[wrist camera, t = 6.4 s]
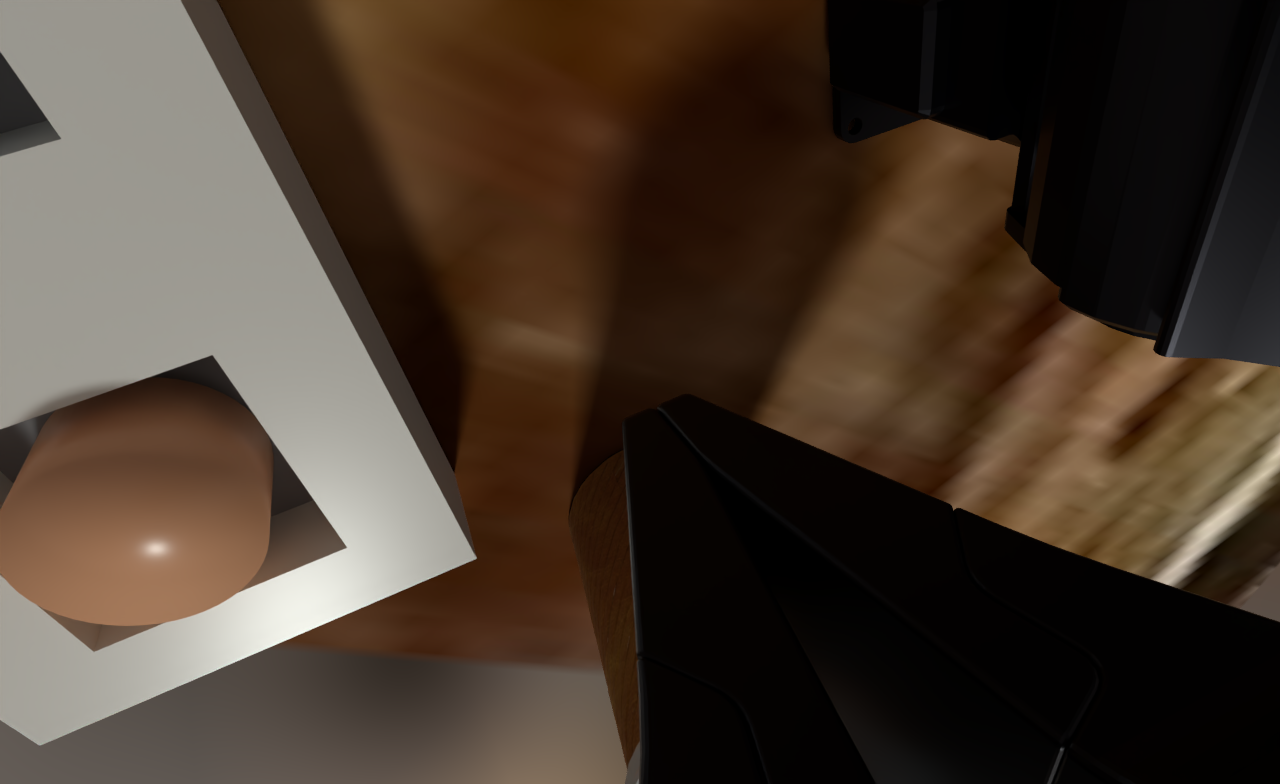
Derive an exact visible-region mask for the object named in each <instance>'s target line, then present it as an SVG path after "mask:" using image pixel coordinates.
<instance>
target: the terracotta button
mask: <svg viewBox="0 0 1280 784" xmlns="http://www.w3.org/2000/svg"><path fill="white" fill-rule="evenodd" d="M273 467H274V454H273V449H272V444H271V442H270V439H269V437H268V434H267V433H266V431H265V429H264V428H263V426H262V425H261V424H260V422H259V421H258V420H257V418H256V417H255V416H254V415H253V414H252V413H251V412H250V411H249V410H248V409H246V408H245V407H244V406H243V405H241V404H240V403H238V402H237V401H236V400H234V399H232V398H230V397H229V396H227V395H225V394H223V393H221V392H219V391H216V390H214V389H212V388H209V387H206V386H203V385H200V384H197V383H193V382H188V381H184V380H179V379H170V378H159V377H148V378H145V379H143V380H140V381H137V382H134V383H131V384H128V385H125V386H123V387H120V388H117V389H114V390H111V391H108V392H106V393H103V394H100V395H97V396H94V397H91V398H88V399H86V400H83V401H80V402H77V403H74V404H71V405H68V406H66V407H63V408H60V409H57V410H55V412H54V413H53V414H52V415H51V416H50V417H49V418H48V419H47V421H46V422H45V424H44V425H43V427H42V429H41V431H40V433H39V434H38V436H37V438H36V440H35V442H34V444H33V446H32V448H31V450H30V452H29V454H28V456H27V458H26V460H25V462H24V464H23V466H22V468H21V470H20V472H19V474H18V476H17V478H16V480H15V482H14V484H13V486H12V488H11V490H10V492H9V494H8V496H7V498H6V500H5V502H4V504H3V505H2V507H1V509H0V573H1V574H2V576H3V577H4V578H5V579H6V581H7V582H8V583H9V584H10V585H11V586H12V587H13V588H14V589H15V590H16V591H17V592H18V593H19V594H21V595H22V596H24V597H25V598H26V599H28V600H29V601H31V602H33V603H34V604H36V605H38V606H40V607H42V608H44V609H46V610H48V611H51V612H53V613H56V614H58V615H61V616H64V617H68V618H71V619H74V620H79V621H84V622H88V623H95V624H103V625H115V626H139V625H151V624H160V623H165V622H170V621H175V620H179V619H183V618H187V617H190V616H193V615H196V614H199V613H201V612H204V611H206V610H209V609H211V608H213V607H215V606H217V605H219V604H221V603H223V602H224V601H226V600H228V599H229V598H231V597H232V596H234V595H235V594H236V593H238V592H239V591H240V590H242V589H243V588H244V587H245V586H246V585H247V584H248V583H249V582H250V581H251V580H252V578H253V577H254V576H255V575H256V574H257V572H258V571H259V569H260V567H261V566H262V564H263V562H264V559H265V557H266V554H267V551H268V545H269V535H270V518H271V501H272V484H273Z"/></svg>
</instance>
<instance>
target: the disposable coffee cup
mask: <svg viewBox="0 0 1280 784" xmlns="http://www.w3.org/2000/svg"><path fill="white" fill-rule="evenodd" d="M569 528H570V533H571V537H572V540H573V544H574V548H575V553H576V557H577V561H578V565H579V569H580V573H581V578H582V582H583V586H584V590H585V594H586V598H587V603H588V607H589V611H590V616H591V620H592V624H593V628H594V633H595V636H596V641H597V645H598V649H599V653H600V657H601V662H602V666H603V670H604V674H605V678H606V683H607V686H608V693H609V696H610V700H611V704H612V709H613V712H614V716H615V720H616V724H617V728H618V733H619V736H620V741H621V745H622V749H623V754H624V758H625V762H626V765H627V776H626V781H625V784H639V767H640V731H639V696H638V681H637V661H638V659H637V656H636V641H635V625H634V609H633V593H632V577H631V560H630V544H629V528H628V512H627V496H626V480H625V464H624V450H622V451H620V452H618V453H616V454H615V455H613V456H612V457H610V458H608V459H607V460H605V461H604V462H603V463H602V464H601V465H600V466H599V467H598V468H597V469H595V470H594V471H593V472H592V473H591V474H590V475H589V476H588V478H587V479H586V480H585V481H584V482H583V484H582V485H581V487H580V488H579V490H578V492H577V494H576V496H575V497H574V500H573V503H572V507H571V510H570V514H569Z"/></svg>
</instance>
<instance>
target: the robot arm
mask: <svg viewBox="0 0 1280 784" xmlns="http://www.w3.org/2000/svg"><path fill="white" fill-rule="evenodd" d="M828 14H829V56H830V83H831V85H833V125H834V133H835V135H836V136H837V138H839V139H841V140H843V141H846V142H848V143H856V142H858V141H861V140H864V139H867V138H870V137H872V136H875V135H878V134H881V133H884V132H887V131H889V130H892V129H895V128H898V127H901V126H904V125H906V124H909V123H912V122H915V121H918V120H920V119H929V120H932V121H935V122H938V123H941V124H944V125H947V126H950V127H953V128H956V129H959V130H962V131H964V132H967V133H970V134H973V135H976V136H979V137H982V138H985V139H988V140H1000V141H1003V142H1006V143H1009V144H1012V145H1015V146H1018V147H1020V152H1019V159H1018V166H1017V173H1016V180H1015V187H1014V194H1013V201H1012V206H1011V207H1009V208H1008V209H1007V213H1006V220H1005V227H1004V228H1005V230H1006V231H1007V233H1008V234H1009V235H1010V236H1011V237H1012V238H1013V239H1014V240H1015V241H1016V242H1017V243H1018V244H1019V245H1020V246H1021V247H1022V248H1023V249H1024V250H1025V251H1026V252H1027V254H1028V257H1029V259H1030V262H1031V264H1032V265H1034V266H1035V267H1036V268H1037V269H1038V270H1039V271H1040V272H1042V273H1043V274H1044V275H1045V276H1046V277H1047V278H1048V279H1050V280H1051V281H1052V282H1053V283H1054V284H1055V285H1057V286H1059V287H1060V289H1059V294H1058V298H1059V300H1060V301H1061V302H1062V303H1063V304H1065V305H1066V306H1067V307H1068V308H1070V309H1071V310H1074V311H1076V312H1078V313H1080V314H1083V315H1085V316H1087V317H1089V318H1092V319H1094V320H1096V321H1098V322H1100V323H1102V324H1104V325H1106V326H1108V327H1110V328H1112V329H1115V330H1118V331H1121V332H1124V333H1127V334H1130V335H1133V336H1137V337H1142V338H1147V339H1151V340H1156V342H1155V345H1154V349H1153V350H1154V351H1155V353H1157V354H1159V355H1161V356H1164V357H1183V358H1223V359H1230V360H1237V361H1244V362H1251V363H1258V364H1264V365H1271V366H1278V367H1280V0H828ZM853 119H854V120H855V122H854V126H853V127H852V129H851V130H849V131H848V126H849V123H850V122H851V120H853ZM622 432H623V448H624V464H625V480H626V496H627V512H628V528H629V544H630V560H631V577H632V593H633V609H634V625H635V641H636V656H637V659H638V661H637V681H638V696H639V731H640V767H639V784H1280V622H1278V621H1275V620H1272V619H1269V618H1266V617H1263V616H1260V615H1257V614H1254V613H1251V612H1248V611H1245V610H1242V609H1239V608H1236V607H1233V606H1230V605H1227V604H1224V603H1221V602H1218V601H1215V600H1212V599H1209V598H1206V597H1202V596H1199V595H1196V594H1193V593H1190V592H1187V591H1184V590H1181V589H1178V588H1175V587H1172V586H1169V585H1166V584H1163V583H1160V582H1157V581H1154V580H1151V579H1148V578H1145V577H1142V576H1139V575H1136V574H1133V573H1130V572H1127V571H1124V570H1121V569H1118V568H1115V567H1112V566H1109V565H1106V564H1103V563H1101V562H1098V561H1095V560H1092V559H1089V558H1086V557H1083V556H1081V555H1078V554H1075V553H1072V552H1069V551H1066V550H1064V549H1061V548H1058V547H1055V546H1052V545H1049V544H1047V543H1044V542H1042V541H1039V540H1037V539H1034V538H1032V537H1029V536H1027V535H1024V534H1022V533H1019V532H1017V531H1014V530H1012V529H1009V528H1007V527H1004V526H1002V525H999V524H997V523H994V522H992V521H989V520H987V519H985V518H982V517H980V516H978V515H975V514H973V513H970V512H968V511H966V510H963V509H961V508H956V509H955V510H954V511H953V508H952V506H951V505H950V504H949V503H946V502H944V501H941V500H939V499H937V498H934V497H932V496H930V495H927V494H925V493H923V492H920V491H918V490H915V489H913V488H911V487H908V486H906V485H904V484H901V483H899V482H897V481H894V480H892V479H889V478H887V477H885V476H882V475H880V474H878V473H875V472H873V471H871V470H868V469H866V468H864V467H861V466H859V465H856V464H854V463H852V462H849V461H847V460H845V459H842V458H840V457H838V456H835V455H833V454H830V453H828V452H826V451H823V450H821V449H819V448H816V447H814V446H812V445H809V444H807V443H804V442H802V441H800V440H797V439H795V438H793V437H790V436H788V435H786V434H783V433H781V432H779V431H776V430H774V429H771V428H769V427H767V426H764V425H762V424H760V423H757V422H755V421H753V420H750V419H748V418H745V417H743V416H741V415H738V414H736V413H734V412H731V411H729V410H727V409H724V408H722V407H719V406H717V405H715V404H712V403H710V402H708V401H705V400H703V399H701V398H698V397H696V396H693V395H691V394H683V395H680V396H678V397H676V398H673V399H671V400H668V401H666V402H663V403H661V404H659V405H658V407H657V409H652V408H649V409H646V410H644V411H641V412H639V413H636V414H634V415H631V416H629V417H626V418H625V419H624V420H623V422H622Z"/></svg>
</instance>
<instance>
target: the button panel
mask: <svg viewBox="0 0 1280 784" xmlns="http://www.w3.org/2000/svg"><path fill="white" fill-rule="evenodd" d="M148 377H159V378H170V379H179V380H184V381H188V382H193V383H197V384H200V385H203V386H206V387H209V388H212V389H214V390H216V391H219V392H221V393H223V394H225V395H227V396H229V397H230V398H232V399H234V400H236V401H237V402H238V403H240V404H241V405H243V406H244V407H245V408H246V409H248V410H249V411H250V412H251V413H252V414H253V415H254V416H255V417H256V418H257V420H258V421H259V422H260V424H261V425H262V426H263V428H264V429H265V431H266V433H267V434H268V437H269V439H270V442H271V444H272V449H273V454H274V467H273V484H272V501H271V518H270V535H269V545H268V551H267V554H266V557H265V559H264V562H263V564H262V566H261V567H260V569H259V571H258V572H257V574H256V575H255V576H254V577H253V578H252V580H251V581H250V582H249V583H248V584H247V585H246V586H245V587H244V588H243V589H242V590H240V591H239V592H238V593H236V594H235V595H234V596H232V597H231V598H229V599H228V600H226V601H224V602H223V603H221V604H219V605H217V606H215V607H213V608H211V609H209V610H206V611H204V612H201V613H199V614H196V615H193V616H190V617H187V618H183V619H179V620H175V621H170V622H165V623H160V624H151V625H139V626H115V625H103V624H95V623H88V622H84V621H79V620H74V619H71V618H68V617H64V616H61V615H58V614H56V613H53V612H51V611H48V610H46V609H44V608H42V607H40V606H38V605H36V604H34V603H33V602H31V601H29V600H28V599H26V598H25V597H24V596H22V595H21V594H19V593H18V592H17V591H16V590H15V589H14V588H13V587H12V586H11V585H10V584H9V583H8V582H7V581H6V579H5V578H4V577H3V576H2V574H1V573H0V720H1V721H3V722H4V723H6V724H7V725H9V726H10V727H12V728H13V729H15V730H17V731H18V732H20V733H21V734H23V735H24V736H26V737H27V738H29V739H30V740H32V741H33V742H35V743H36V744H38V745H43V744H45V743H47V742H50V741H52V740H54V739H57V738H59V737H61V736H64V735H66V734H68V733H71V732H73V731H75V730H78V729H80V728H82V727H85V726H87V725H89V724H91V723H94V722H96V721H99V720H101V719H103V718H106V717H108V716H110V715H113V714H115V713H117V712H120V711H122V710H124V709H127V708H129V707H131V706H134V705H136V704H138V703H141V702H143V701H145V700H148V699H150V698H152V697H155V696H157V695H159V694H161V693H164V692H166V691H168V690H171V689H173V688H176V687H178V686H180V685H182V684H185V683H187V682H190V681H192V680H194V679H197V678H199V677H201V676H204V675H206V674H208V673H211V672H213V671H215V670H217V669H220V668H222V667H225V666H227V665H229V664H232V663H234V662H236V661H239V660H241V659H243V658H246V657H248V656H250V655H253V654H255V653H257V652H259V651H262V650H264V649H267V648H269V647H271V646H274V645H276V644H278V643H281V642H283V641H285V640H288V639H290V638H292V637H295V636H297V635H299V634H302V633H304V632H306V631H309V630H311V629H313V628H316V627H318V626H320V625H323V624H325V623H327V622H330V621H332V620H334V619H337V618H339V617H341V616H344V615H346V614H348V613H351V612H353V611H355V610H358V609H360V608H362V607H365V606H367V605H369V604H372V603H374V602H376V601H379V600H381V599H383V598H386V597H388V596H390V595H393V594H395V593H397V592H400V591H402V590H404V589H407V588H409V587H411V586H414V585H416V584H418V583H421V582H423V581H425V580H428V579H430V578H432V577H435V576H437V575H439V574H442V573H444V572H446V571H449V570H451V569H453V568H456V567H458V566H460V565H463V564H465V563H467V562H470V561H472V560H474V559H477V558H476V554H475V550H474V546H473V543H472V539H471V535H470V531H469V527H468V523H467V520H466V516H465V512H464V508H463V504H462V500H461V497H460V493H459V489H458V485H457V481H456V477H455V474H454V472H453V470H452V468H451V466H450V464H449V462H448V460H447V458H446V456H445V454H444V452H443V450H442V448H441V446H440V444H439V442H438V440H437V438H436V436H435V434H434V432H433V430H432V428H431V426H430V424H429V422H428V420H427V418H426V416H425V414H424V412H423V410H422V408H421V406H420V404H419V402H418V400H417V398H416V396H415V394H414V392H413V390H412V388H411V386H410V384H409V382H408V380H407V378H406V376H405V374H404V372H403V370H402V368H401V366H400V364H399V362H398V360H397V358H396V356H395V354H394V352H393V350H392V348H391V346H390V344H389V342H388V340H387V338H386V336H385V334H384V332H383V330H382V328H381V326H380V324H379V322H378V320H377V318H376V316H375V314H374V312H373V310H372V308H371V306H370V304H369V303H368V301H367V299H366V297H365V295H364V293H363V291H362V289H361V287H360V285H359V283H358V281H357V279H356V277H355V275H354V273H353V271H352V269H351V267H350V265H349V263H348V261H347V259H346V257H345V255H344V253H343V251H342V249H341V247H340V245H339V243H338V241H337V239H336V237H335V235H334V233H333V231H332V229H331V227H330V225H329V223H328V221H327V219H326V217H325V215H324V213H323V211H322V209H321V207H320V205H319V203H318V201H317V199H316V197H315V195H314V193H313V191H312V189H311V187H310V185H309V183H308V181H307V179H306V177H305V175H304V173H303V171H302V169H301V167H300V165H299V163H298V161H297V159H296V157H295V155H294V153H293V151H292V149H291V147H290V145H289V143H288V141H287V139H286V137H285V135H284V133H283V131H282V129H281V127H280V125H279V123H278V121H277V119H276V117H275V115H274V113H273V111H272V109H271V107H270V105H269V103H268V101H267V99H266V97H265V95H264V93H263V91H262V89H261V87H260V85H259V83H258V81H257V79H256V77H255V75H254V73H253V71H252V69H251V67H250V65H249V63H248V61H247V59H246V57H245V56H244V54H243V52H242V50H241V48H240V46H239V44H238V42H237V40H236V38H235V36H234V34H233V32H232V30H231V28H230V26H229V24H228V22H227V20H226V18H225V16H224V14H223V12H222V10H221V8H220V6H219V4H218V2H217V0H0V509H1V507H2V505H3V504H4V502H5V500H6V498H7V496H8V494H9V492H10V490H11V488H12V486H13V484H14V482H15V480H16V478H17V476H18V474H19V472H20V470H21V468H22V466H23V464H24V462H25V460H26V458H27V456H28V454H29V452H30V450H31V448H32V446H33V444H34V442H35V440H36V438H37V436H38V434H39V433H40V431H41V429H42V427H43V425H44V424H45V422H46V421H47V419H48V418H49V417H50V416H51V415H52V414H53V413H54V412H55V410H57V409H60V408H63V407H66V406H68V405H71V404H74V403H77V402H80V401H83V400H86V399H88V398H91V397H94V396H97V395H100V394H103V393H106V392H108V391H111V390H114V389H117V388H120V387H123V386H125V385H128V384H131V383H134V382H137V381H140V380H143V379H145V378H148Z"/></svg>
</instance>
